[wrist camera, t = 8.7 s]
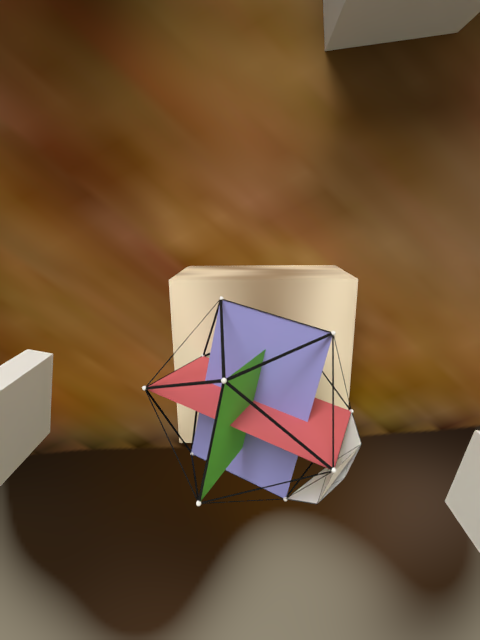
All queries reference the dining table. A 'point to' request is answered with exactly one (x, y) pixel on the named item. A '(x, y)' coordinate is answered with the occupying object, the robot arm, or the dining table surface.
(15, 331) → the dining table surface
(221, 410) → the geometric puzzle
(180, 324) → the beech block
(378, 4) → the grey block
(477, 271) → the dining table surface
